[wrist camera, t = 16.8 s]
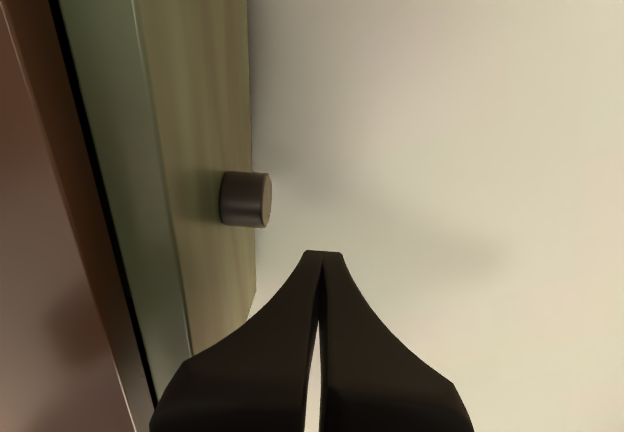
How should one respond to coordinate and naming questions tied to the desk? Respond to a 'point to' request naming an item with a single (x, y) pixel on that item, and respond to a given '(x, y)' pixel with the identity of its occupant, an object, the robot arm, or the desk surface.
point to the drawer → (172, 162)
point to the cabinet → (57, 254)
